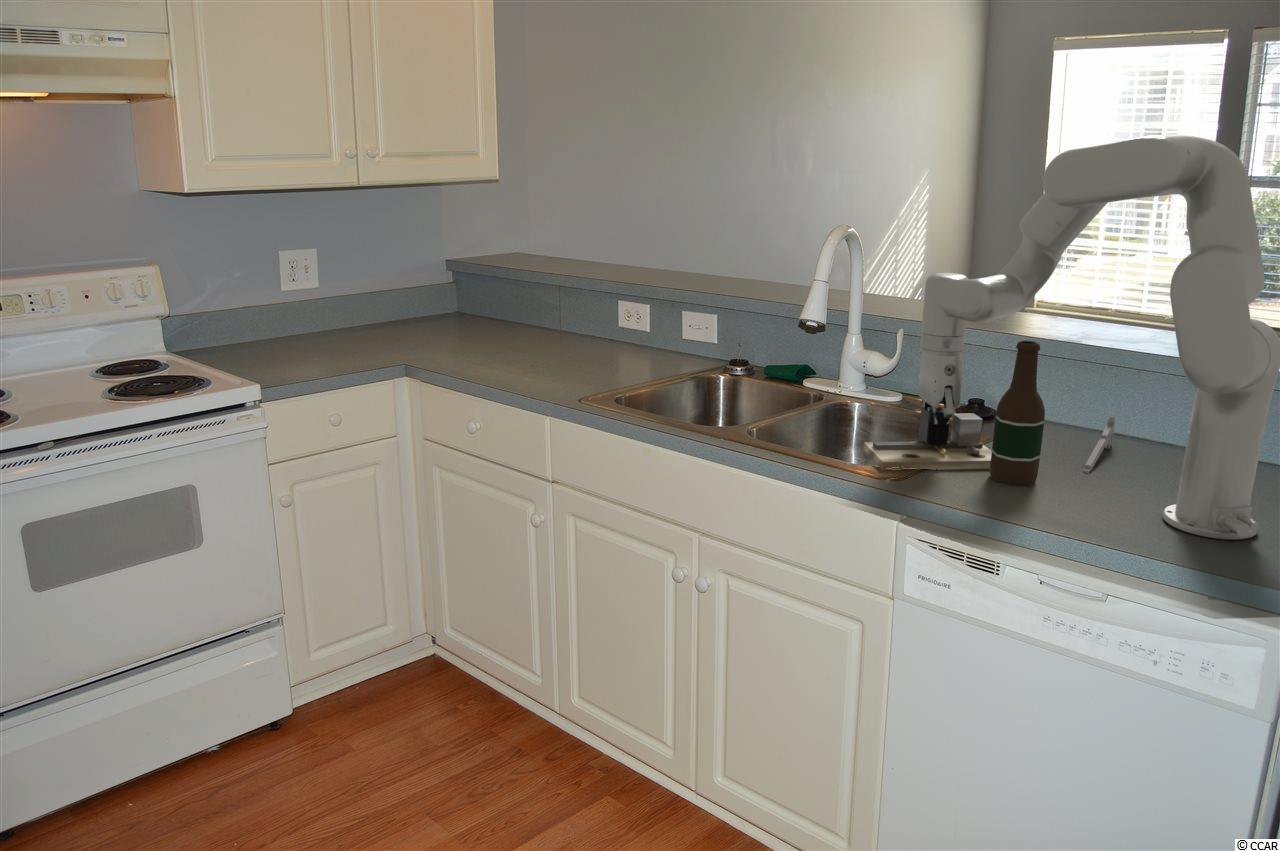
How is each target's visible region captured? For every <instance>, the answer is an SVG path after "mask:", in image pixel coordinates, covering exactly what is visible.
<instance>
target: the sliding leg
mask: <svg viewBox="0 0 1280 851" xmlns="http://www.w3.org/2000/svg"><path fill="white" fill-rule="evenodd" d="M940 412H943V410H938V415H939V413H940ZM919 420H920V421H919V430H918V439H919V441H922V442H924V443H925V444H926V445H930V444H929V434H930V423H933V407H922V406H921V408H920V419H919ZM949 430H950V425H949V426H948V434H949V433H950V432H949ZM948 439H949V435H948V436H947V443H948V441H949V440H948ZM934 447H935V448H936V449H937V450H938V451H940V452H941V453H940V454H941V455H946V450H945V449H944V448H943V447H941V446H940V445H934Z"/></svg>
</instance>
